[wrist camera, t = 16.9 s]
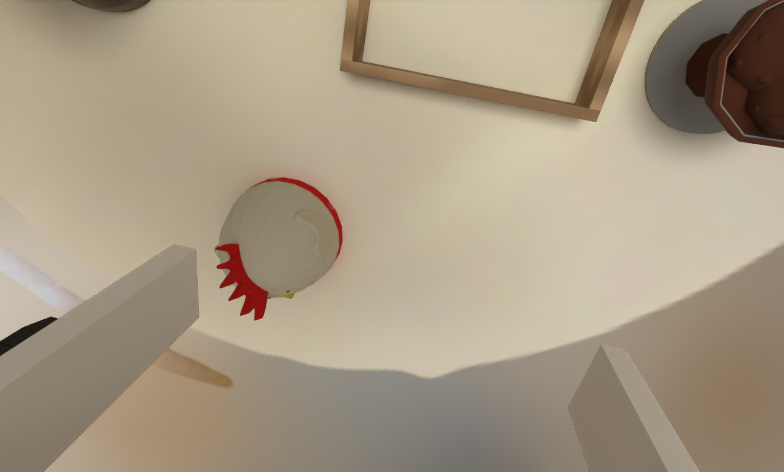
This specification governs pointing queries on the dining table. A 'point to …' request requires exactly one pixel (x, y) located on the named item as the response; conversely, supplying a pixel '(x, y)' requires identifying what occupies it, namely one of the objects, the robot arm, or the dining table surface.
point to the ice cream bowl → (745, 76)
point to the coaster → (669, 63)
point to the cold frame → (585, 108)
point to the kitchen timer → (277, 242)
